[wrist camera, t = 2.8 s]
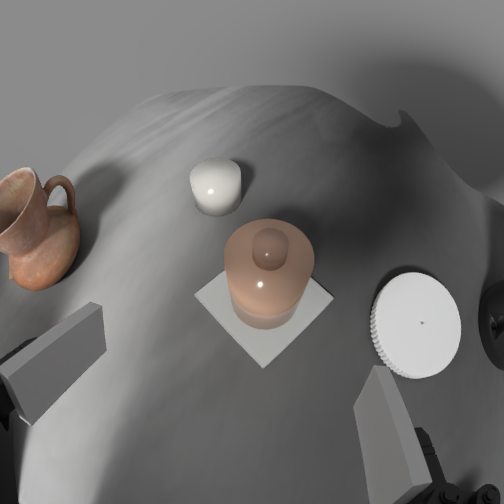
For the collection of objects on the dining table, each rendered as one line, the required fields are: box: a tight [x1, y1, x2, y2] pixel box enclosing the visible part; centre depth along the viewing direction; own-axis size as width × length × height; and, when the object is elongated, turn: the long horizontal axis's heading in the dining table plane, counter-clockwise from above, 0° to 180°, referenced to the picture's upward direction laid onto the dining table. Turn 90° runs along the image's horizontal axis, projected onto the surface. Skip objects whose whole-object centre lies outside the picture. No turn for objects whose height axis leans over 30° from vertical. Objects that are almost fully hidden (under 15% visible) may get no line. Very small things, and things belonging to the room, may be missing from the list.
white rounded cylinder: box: [190, 158, 242, 216], centre depth 39 cm, size 7×7×5 cm
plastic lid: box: [370, 272, 461, 379], centre depth 31 cm, size 14×14×2 cm
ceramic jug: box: [0, 167, 81, 291], centre depth 30 cm, size 18×14×14 cm
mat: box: [194, 270, 334, 368], centre depth 33 cm, size 12×12×1 cm
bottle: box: [224, 219, 314, 330], centre depth 28 cm, size 8×8×12 cm
